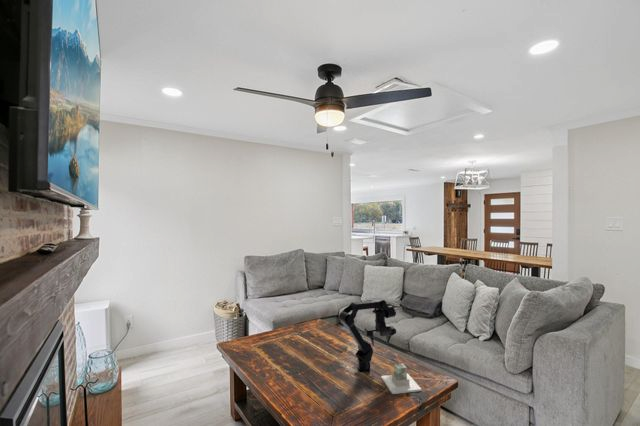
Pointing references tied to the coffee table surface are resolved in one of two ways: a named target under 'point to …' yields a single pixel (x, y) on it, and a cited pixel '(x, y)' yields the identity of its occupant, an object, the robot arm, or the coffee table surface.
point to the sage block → (400, 371)
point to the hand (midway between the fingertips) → (380, 344)
